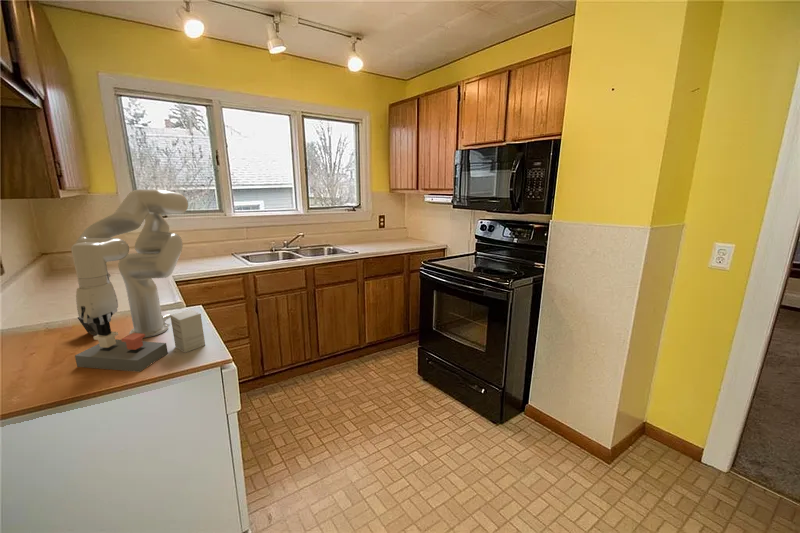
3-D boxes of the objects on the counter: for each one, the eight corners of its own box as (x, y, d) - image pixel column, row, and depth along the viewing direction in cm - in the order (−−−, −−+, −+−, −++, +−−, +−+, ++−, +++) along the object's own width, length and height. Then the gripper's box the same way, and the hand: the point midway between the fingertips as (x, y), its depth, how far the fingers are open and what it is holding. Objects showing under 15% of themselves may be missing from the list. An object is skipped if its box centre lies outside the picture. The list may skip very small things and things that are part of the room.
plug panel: (110, 349, 125) (108, 338, 124) (167, 353, 123) (166, 342, 122) (77, 366, 113) (74, 355, 112) (139, 371, 111) (137, 360, 110)
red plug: (134, 343, 119) (132, 332, 118) (146, 344, 118) (144, 333, 117) (123, 350, 114) (121, 338, 113) (135, 350, 114) (133, 339, 113)
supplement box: (195, 339, 133) (191, 308, 130) (205, 345, 129) (201, 313, 126) (174, 347, 127) (169, 314, 124) (184, 353, 123) (179, 319, 120)
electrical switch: (111, 333, 137) (104, 312, 134) (96, 340, 132) (88, 318, 129) (98, 329, 141) (90, 308, 138) (82, 335, 136) (74, 314, 133)
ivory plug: (108, 341, 120) (105, 331, 119) (119, 342, 119) (117, 331, 118) (95, 347, 115) (93, 336, 114) (108, 348, 115) (105, 337, 114)
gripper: (105, 274, 119) (115, 324, 124) (59, 287, 105) (71, 343, 109) (125, 275, 118) (134, 325, 123) (81, 288, 104) (93, 345, 108)
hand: (105, 334), depth 116 cm, fingers closed
